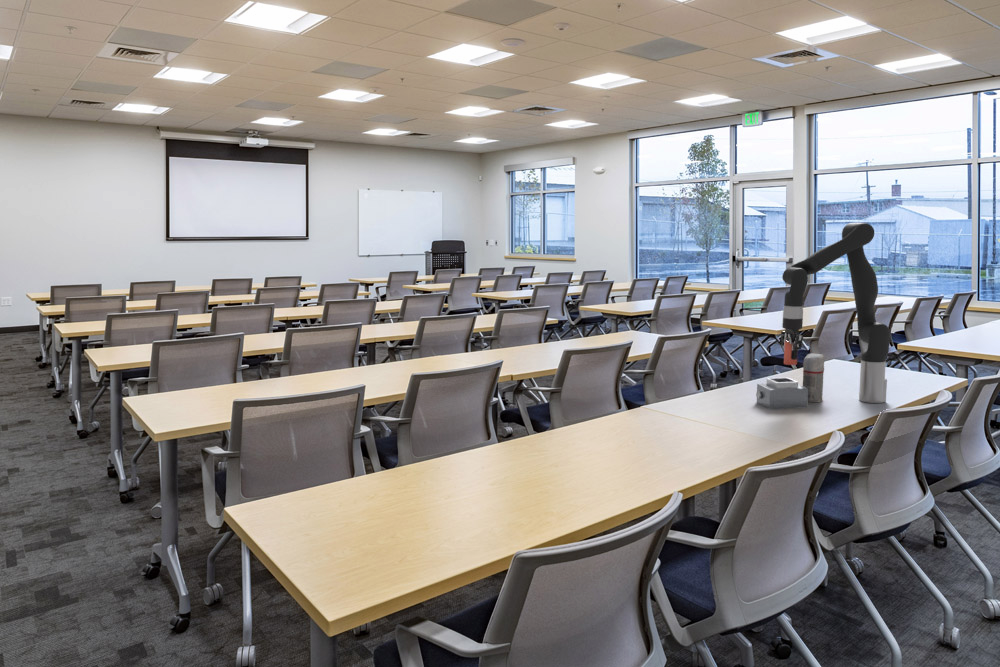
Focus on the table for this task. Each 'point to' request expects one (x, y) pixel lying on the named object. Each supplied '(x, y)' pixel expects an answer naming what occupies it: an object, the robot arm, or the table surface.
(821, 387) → the spray can
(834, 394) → the table surface
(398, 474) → the table surface
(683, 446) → the table surface
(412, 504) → the table surface
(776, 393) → the gearbox
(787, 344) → the oil can
